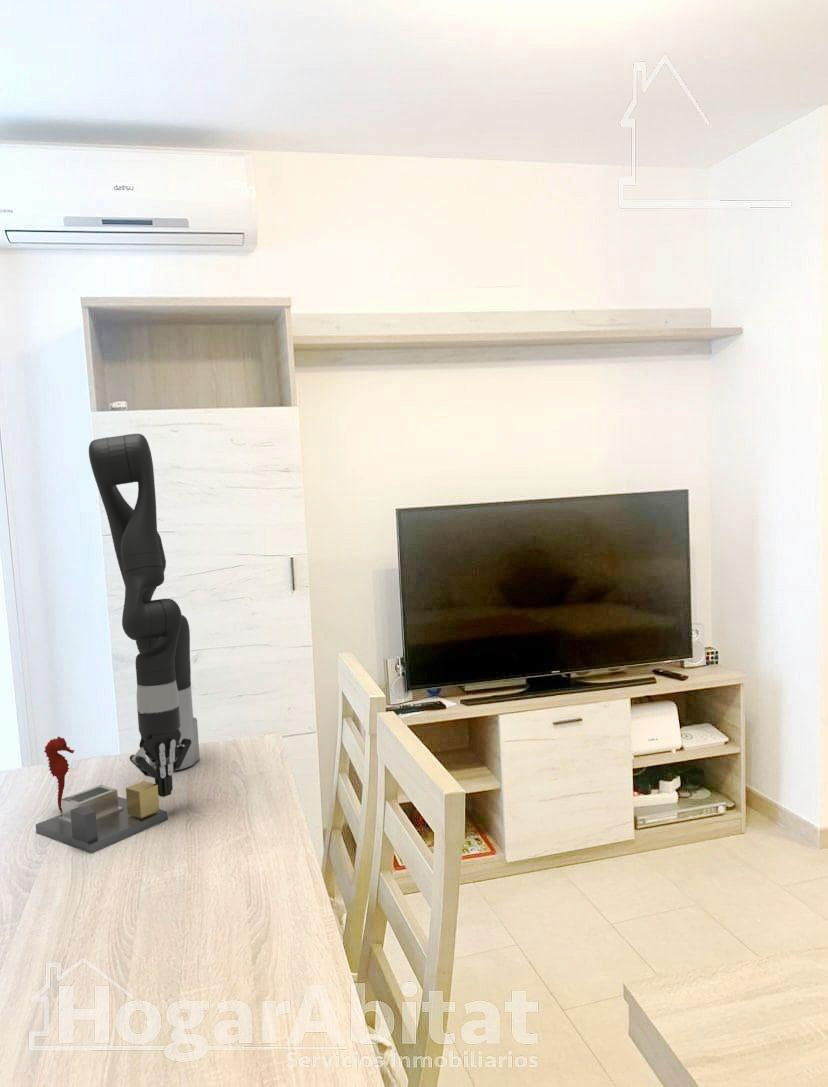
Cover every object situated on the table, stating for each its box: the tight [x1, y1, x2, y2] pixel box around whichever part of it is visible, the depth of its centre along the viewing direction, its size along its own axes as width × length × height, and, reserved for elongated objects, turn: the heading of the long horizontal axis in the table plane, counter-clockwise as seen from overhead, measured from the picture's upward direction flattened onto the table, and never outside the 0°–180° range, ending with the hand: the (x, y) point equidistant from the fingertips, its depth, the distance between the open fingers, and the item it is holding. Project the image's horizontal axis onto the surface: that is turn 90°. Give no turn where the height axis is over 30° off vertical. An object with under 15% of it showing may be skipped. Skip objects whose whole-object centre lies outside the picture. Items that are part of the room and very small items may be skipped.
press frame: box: [35, 784, 169, 854], centre depth 150 cm, size 16×17×6 cm
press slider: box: [125, 780, 160, 818], centre depth 151 cm, size 4×4×5 cm
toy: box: [43, 736, 76, 813], centre depth 157 cm, size 2×5×15 cm, turn 119°
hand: (164, 795), depth 155 cm, fingers closed
